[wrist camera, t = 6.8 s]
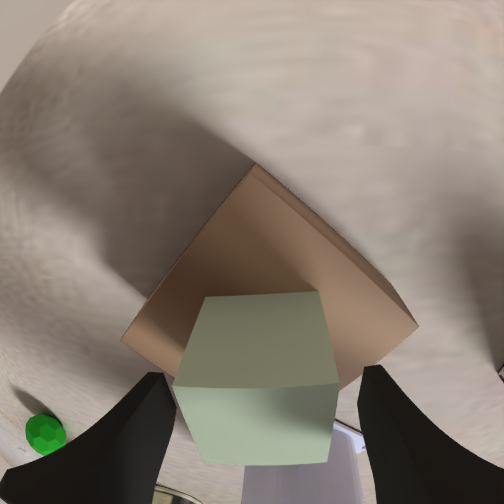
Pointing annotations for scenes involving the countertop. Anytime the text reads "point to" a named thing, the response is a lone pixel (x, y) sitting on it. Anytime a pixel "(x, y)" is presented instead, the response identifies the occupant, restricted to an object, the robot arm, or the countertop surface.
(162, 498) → the coffee can
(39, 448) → the polyhedron
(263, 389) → the sage block
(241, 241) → the walnut block
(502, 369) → the candy bar box
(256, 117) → the countertop surface
